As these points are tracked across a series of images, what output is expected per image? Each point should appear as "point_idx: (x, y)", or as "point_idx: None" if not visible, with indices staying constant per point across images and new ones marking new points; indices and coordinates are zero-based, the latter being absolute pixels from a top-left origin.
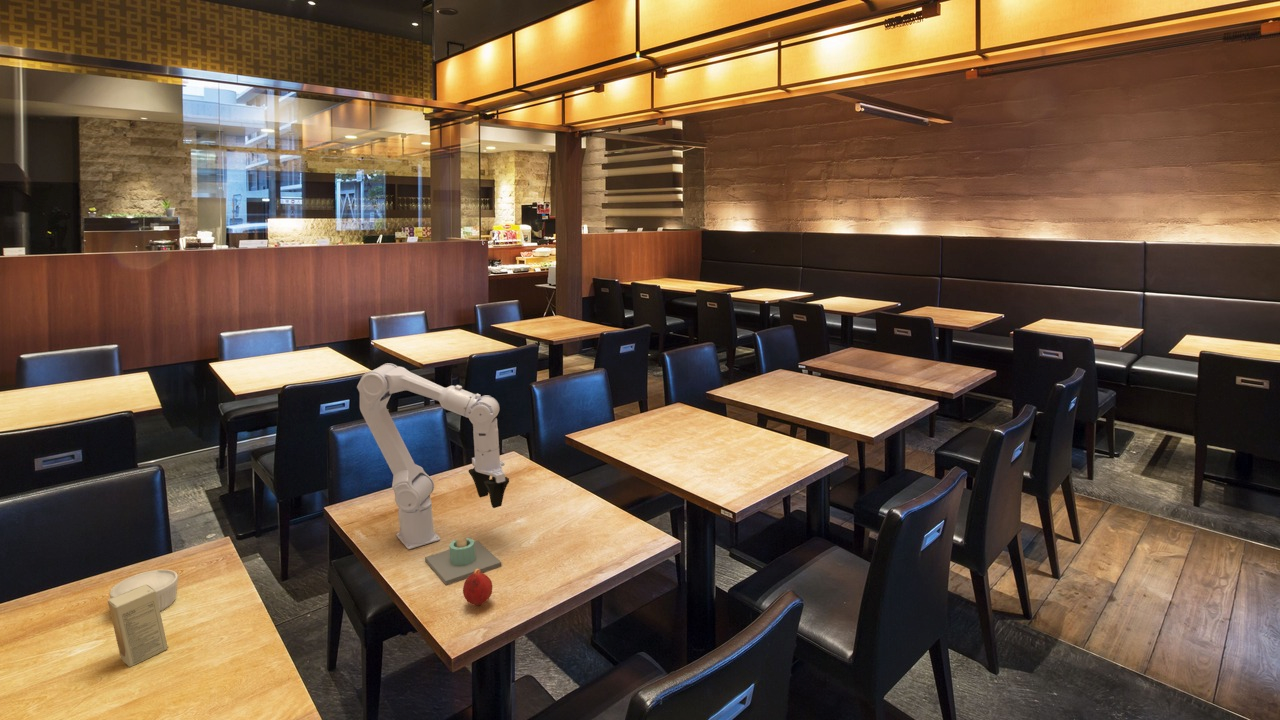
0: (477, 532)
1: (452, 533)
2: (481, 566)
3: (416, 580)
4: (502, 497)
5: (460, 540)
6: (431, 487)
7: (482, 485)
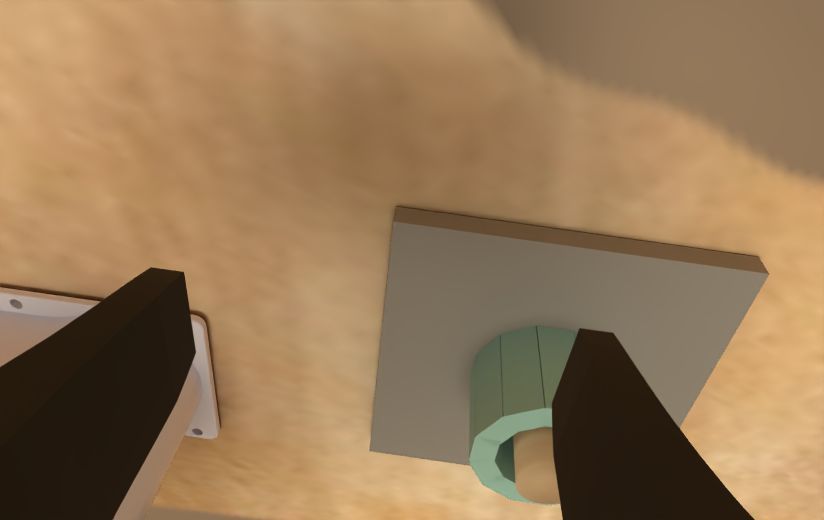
0: (224, 119)
1: (148, 233)
2: (692, 360)
3: (498, 504)
4: (676, 431)
5: (555, 493)
6: None
7: (103, 447)
